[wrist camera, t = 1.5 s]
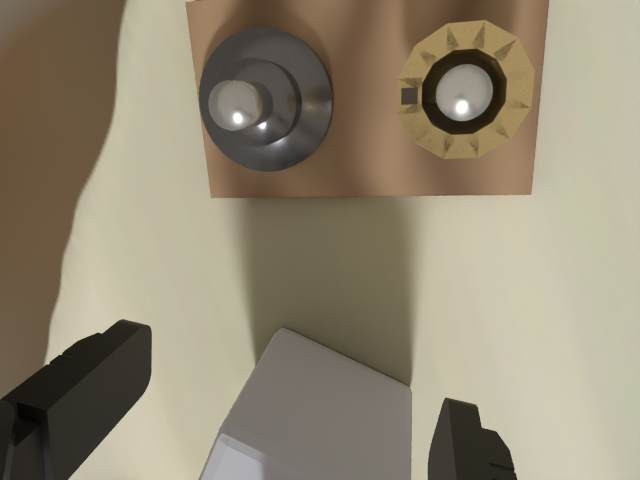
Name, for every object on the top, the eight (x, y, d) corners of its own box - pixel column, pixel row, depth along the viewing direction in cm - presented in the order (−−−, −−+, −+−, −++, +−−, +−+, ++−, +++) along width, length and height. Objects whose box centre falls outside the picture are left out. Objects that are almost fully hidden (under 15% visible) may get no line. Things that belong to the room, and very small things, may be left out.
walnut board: (545, -31, 26) (552, -38, 25) (525, 189, 30) (531, 194, 29) (195, 6, 31) (185, 2, 29) (219, 193, 35) (211, 197, 33)
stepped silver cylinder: (501, 43, 26) (526, 29, 20) (495, 133, 28) (517, 145, 22) (410, 49, 27) (409, 39, 21) (410, 136, 29) (408, 149, 23)
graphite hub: (330, 23, 28) (307, 4, 22) (336, 167, 31) (317, 187, 25) (196, 34, 30) (141, 21, 24) (214, 170, 32) (168, 189, 26)
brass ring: (524, 24, 23) (540, 14, 20) (514, 149, 25) (527, 156, 22) (399, 34, 25) (397, 27, 22) (399, 152, 27) (397, 160, 24)
